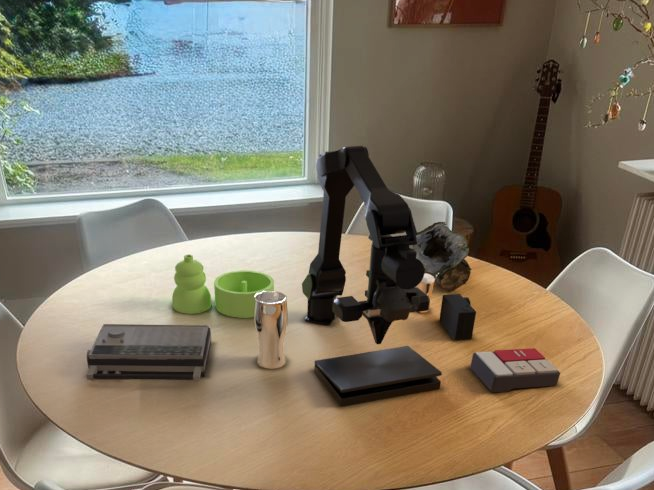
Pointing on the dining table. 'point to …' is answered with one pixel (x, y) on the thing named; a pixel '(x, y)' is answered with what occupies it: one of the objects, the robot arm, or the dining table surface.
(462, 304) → the digital camera
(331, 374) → the netbook screen
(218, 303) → the green toy parts
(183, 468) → the dining table surface
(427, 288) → the shiny metal cylinder
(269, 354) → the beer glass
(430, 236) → the hollow geode rock
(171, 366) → the radio
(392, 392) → the dark flat rectangular base
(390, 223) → the robot arm
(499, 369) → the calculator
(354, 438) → the dining table surface
